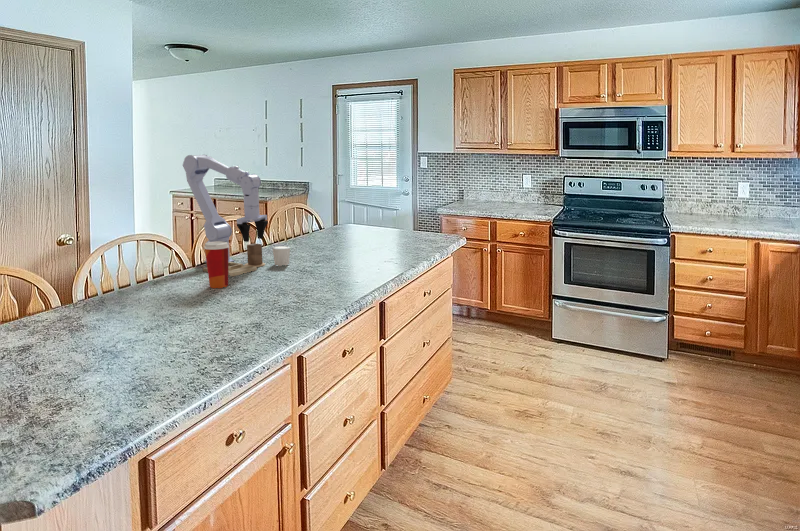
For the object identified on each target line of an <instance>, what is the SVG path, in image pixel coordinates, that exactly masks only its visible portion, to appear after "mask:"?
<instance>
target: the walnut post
mask: <svg viewBox="0 0 800 531" xmlns="http://www.w3.org/2000/svg"><path fill="white" fill-rule="evenodd" d="M262 248H263V245H262V244H261V243H250V244H247V245H246V255H247V263H248V265H253V266H257V265H261V264H263V263H264V262H263V249H262Z"/></svg>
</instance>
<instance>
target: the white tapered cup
mask: <svg viewBox="0 0 800 531" xmlns="http://www.w3.org/2000/svg"><path fill="white" fill-rule="evenodd" d="M272 253H273V260H274V266H276V265H278V266H277V267H283V266H282V265H285V266H289V265H290V253H291V247H290V246H286V245H280V246H279V245H277V246H273V247H272ZM288 264H289V265H288Z"/></svg>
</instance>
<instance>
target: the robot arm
mask: <svg viewBox="0 0 800 531" xmlns="http://www.w3.org/2000/svg"><path fill="white" fill-rule="evenodd" d="M182 167H183V169H184V172H185V175H186V176H185V177H186V182H187V184H188V186H189V188H190V191H191V192H192V194H193V196H194V199H195V200H196V202H197V204H198V207H199V209H200V212H201V213H202V215H203V218H204V220H205V222H204V224H203V228H204V230H205V231H204V232H205V237H206V238H207V241H206V242H205V243H208V242H215V241H222V242H227V243H228V245H229V247H228V262H235V259H231V258H230V256H231V255H230V243H229V240H230V237H231V236H232V233H233V230H232V227H231V225H230V224H229V223H228V222H227V221H226V219H225V218H224V217H222V215H221V216H220V214H219V213H218V210H217V208H216V206H215V204H214V202H213V200H212V197H211V196H210V194H209V192H208V189H207V187H206V185H205V183H204V177H205V176H206V174H207V173H208V172H209V171H210V170H213V171H215V172H218V173H220V174H222V175H224V176H225V178H226V179H227V180H228V181H230V182H231V183H234V184H236V185H238V186H240V188H241V190H242V194H243V195H242V196H243V209H244V210H243V212H244V216H243V217H239V218H236V228H238V230H239V232H240V234H241V236H242V239H243V242H246V243H248V242H250V230H251V224H249V223H253V222H254V225H255V228H256V236H257V239H258V240H259V239H260V240H263V238H264V234H265V230H266V228H267V225H268V224H269V221H268V215H267V214H261V213H260V197H259V196H260V195H259V188H260V187H261V184H262V179H261V177H260V176H259V175H257V174H256V173H251V174H250V172H249V171H247V170H246V171H245V170H244V169H243V170H242V169H241V168H240V167H239V166H238V165H234V166H233V165H231V166H228V165H226V164H224V163H223V162H221V161H218V160H216V159H215V158H214V157H212V156H209V155H208V154H196V155H192V154H189V155H186V156H185V157H184V159H183V163H182ZM204 255H205V257H206V254H204ZM203 262H204V263H207V262H206V260H204V261H203Z"/></svg>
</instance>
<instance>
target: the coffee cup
mask: <svg viewBox="0 0 800 531" xmlns="http://www.w3.org/2000/svg"><path fill="white" fill-rule="evenodd" d="M228 247H229V248H230V244H229V245H228V243H227V242H222V241H215V242H208V243H206V242H205V243H204V246H203V249H204V253H205V254H206V256H205V261H206V262H205V263H206V267H207V269H208V272H207V275H208V282H209V288H211V289H216V288H218V289H224V288H223V287H225V288H228V287H227V286H229V276H228ZM205 254H204V255H205Z"/></svg>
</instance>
